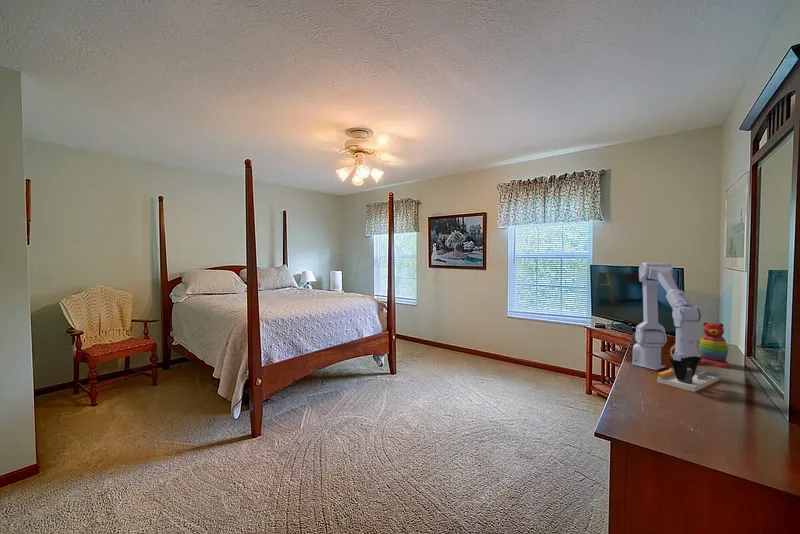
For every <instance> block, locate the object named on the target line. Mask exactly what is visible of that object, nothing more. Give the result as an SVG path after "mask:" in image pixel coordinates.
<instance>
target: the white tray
mask: <svg viewBox="0 0 800 534" xmlns="http://www.w3.org/2000/svg"><path fill="white" fill-rule="evenodd" d="M656 380H657V381H656V383H658V384H659V383H660V384H663V385H665V386H666V385H667V386H671V387H674V388H676V389H677V388H679V389H683V390H685V391H689V392H693V393H695V392H697V391H699V390H702V389H704V388H706V387H709V386H710V385H712V384H714V383H716V382H719V381H720V372H716V371H711V370H707V369H703V368H698V367H697V368H696V371H695V375H694V377H693V378H692V383H691V384H688V383H682V382H679V381H678V379H677V378H676V375H675V374H673V375H670V376H668V377H665V378H660V377H658V376H657V378H656Z"/></svg>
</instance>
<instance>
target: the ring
mask: <svg viewBox="0 0 800 534" xmlns="http://www.w3.org/2000/svg"><path fill="white" fill-rule="evenodd" d="M674 350H676V343H674V345H672V346H671V348H670V349H669V354H670V358H673V351H674Z"/></svg>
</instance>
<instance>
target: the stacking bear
mask: <svg viewBox="0 0 800 534" xmlns="http://www.w3.org/2000/svg"><path fill="white" fill-rule="evenodd" d="M702 331H703V333H704V335H702V337H701V338H700V341H699V345H698V350H699V354H700V357H701V358H702V359H701V361H700V362H699V364H698V365H702V366H703V365H704V366H712V367H717V368H721V369H730V368H731V366H730V363H729V362H728V361H727V357H728V354H729V353H728V352H729V347H728V344H727V340H726V338H724V337H723V335H724V333H725V329H724V324H723V323H716V322H707V321H706V322H703V328H702Z"/></svg>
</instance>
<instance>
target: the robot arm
mask: <svg viewBox="0 0 800 534" xmlns="http://www.w3.org/2000/svg"><path fill="white" fill-rule="evenodd" d="M638 267H639V268H638V278H639V279H638V280H639V282H641V283H642V310H643V312H642V313H643V315H642V316H643V321H642V322H640V323H639V324H637V325H636V326H635V333H634V337H635V342H636V343H635V344H634V345H633V347H632V361H631V362H632V363H631V365H633V366H637V367H641V368H646V369H650V370H655V371H658V370H661V369H664V368H666V366H665V365H662V348H663V347H664V345H666V343H667V341H668V336H667V334H666V328H665V327H664V325H662V324H661V323H660V322H659V310H658V309H659V304H658V299H659V298H658V285H659V284H660V285H661V286H662V288H663V289H664V290H665V292H666V295H665V298H666V300H667V302H668V303H669V305H670V307H671V308H672V312H671V315H672V319H673V326H674V327H675V344H676V348H675V349H674V353H672V355H673V358H672V357H669V359H668V360H669V363H670V364H671V366H672V368H674V371H675V375H676V378H677V379H679V380H683V381H684V380H685V377H686V372H687V368H690V369H692V370H693V377H694V375H695V371H696V368H698V365H700V364H699V362H700V361H701V359H702V358H701V355H700V353H698V350H699V349H697V336H698V335H697V325H698V323H700V321H701V319H702V312H701V309H700V308H699V306H697V305H694V304H693V303H691V301H690V299H689V298H688V297H687V295H686V294H685V292H684V291H683V290H681V289H679V288H678V286H677V284H676V282H675V279H674V278H673V273H674V271H673V270H674V269H673V266H672V265H671V263H670V262H666V261H665V262H645V261H644V262H642V263H641V264H640V265H639V266H638Z"/></svg>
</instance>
